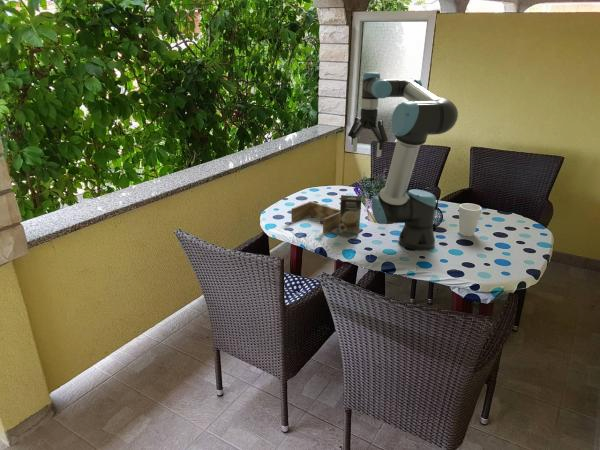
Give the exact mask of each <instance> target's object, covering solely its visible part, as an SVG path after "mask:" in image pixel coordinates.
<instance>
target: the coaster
mask: <svg viewBox="0 0 600 450" xmlns="http://www.w3.org/2000/svg"><path fill="white" fill-rule="evenodd" d="M363 229H364V228H361V227H359V233H362V232H363ZM329 233H330V234H332V235H335V236H339V237H341V238H345V239H350V238H351V237H353V236H355V235H356V234H354V233H339V227H337V228H335V229H333V230H331V231H329Z"/></svg>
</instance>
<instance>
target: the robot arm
mask: <svg viewBox="0 0 600 450" xmlns="http://www.w3.org/2000/svg"><path fill="white" fill-rule="evenodd" d="M361 81H362V84H361V85H362V88H361V89H362V90H361V102H360V103H361V104H360V107H361V109H360V117H359V116H357V117H355V118H354V120H353V121H354V122H353V124H352V126H351V128H350V130H349V132H348V133H347V134H348V135H347V136H348V137H350V138H351V139H350V141H351V142H350V143H351V146H352V147H351V148H352V149H351V152H352V153H355V152H358V151H357V150H358V137H357V136H359V134H360V133H361V132H362V131H363V130H371V131H372V133H373V134H374V136H375V138H376V139H377V140H378V141H377V146H376V158H380V157H382V151H383V150H384V143H387V142H388V141H389V140H388V137H387V133H386V131H385V127H384V121H383V120H377V117H378V113H379V112H378V107H379V99H387V98H404V99H406V100H407V101H403V102H400V103H399V104H397V105H396V107H395V108H394V111H393V112H392V115H391V121H390V122H391V124H390V126H391V132H392V133H393V134H394V135H393V136H394V138H395V139H396V143H395V146H394V151H393V153H392V154H393V155H392V159H391V163H390V165H389V171H388V175H387V178H386V182H385V185H384V187H382V188H381V189H380V191H379V194H378V195H375V196H373V197H372V199H371V212H372V216H373V218H374V220H375V223H377V224H379V225H390V224H403V223H404V226H403V227H402V230H401V232H400V234H399V236H398V244H400V245H401V246H402V247H404V248H407V249H410V250H415V251H427V250H431V249H433V248H434V247H435V244H436V243H435V242H436V238H435V235H434V230H433V227H434V218H435V213H436V212H435V211H436V207H437V206H436V204H437V200H436V199H437V197H436V196H435V194H433V193H431V192H429V191H427V190H422V189H409V190H408V191H407V189H408V188H409V184H410V180H411V177H412V175H413V170H414V168H415V164H416V160H417V157H418V154H419V151H420V147H421V146H422V145H424V144H425V143H426V142H427V138H428V136H430V135H431V136H432V135H435V136H436V135H441V134H445V133H447V132H449V131H450V130H452V128H453V127H454V126H455V125H456V124H457V121H458V117H459V111H458V109H457V108H458V107H456V104H454V102H453V101H451V100H449V99H448V98H445V97H439V96H438V95H436V94H435V93H433V92H432V91H429V90H428V89H426V88H425V87H423V83H422V81H421V80H420V79H419V78H381V73H380V72H377V71H367V72H366V71H365V72H364V73H363V75H362V80H361ZM360 123H361V124H360Z"/></svg>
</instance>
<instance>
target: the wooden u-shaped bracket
mask: <svg viewBox="0 0 600 450" xmlns="http://www.w3.org/2000/svg"><path fill="white" fill-rule="evenodd" d="M309 217H313V218H317V219H319V220H323V221H322V234H327V233H330V231H331V230H333V229H335V228H337V227H339V220H340V209H337V208H335V207H332V206H329V205H324V204H321V203H319V202H314V201H312V200H311V201H308V202H305V203H303V204H300V205H297V206H295V207H292V208H291V217H290V218H291V219H290V220H291V222H290V223H292V224H294V223H297V222H299V221H302V220H304V219H306V218H309Z"/></svg>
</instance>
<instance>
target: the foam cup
mask: <svg viewBox="0 0 600 450" xmlns="http://www.w3.org/2000/svg"><path fill="white" fill-rule="evenodd" d="M482 210H483V208H482V206H480V204H479V205H478V204H475V203H469V202H467V203H461V204H459V207H458V211H459V212H458V215H459V216H458V234H460V236H464V237H473V236H474V234H475V231H476V228H477V226H478V222H479V220H480V215H481V214H482Z"/></svg>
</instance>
